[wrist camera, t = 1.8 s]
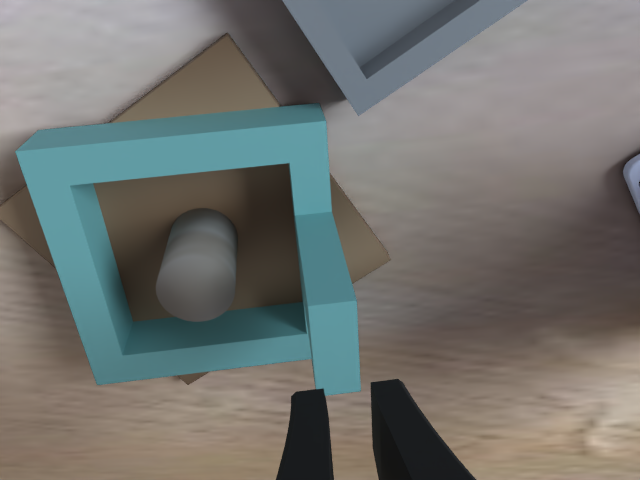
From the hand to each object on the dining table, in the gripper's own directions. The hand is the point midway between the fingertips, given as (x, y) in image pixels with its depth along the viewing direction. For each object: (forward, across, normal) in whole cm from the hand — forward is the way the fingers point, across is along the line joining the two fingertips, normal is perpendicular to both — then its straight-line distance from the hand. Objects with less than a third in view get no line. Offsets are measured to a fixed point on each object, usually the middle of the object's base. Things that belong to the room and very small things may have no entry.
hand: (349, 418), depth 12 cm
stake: (+10, +4, 0) cm, 11 cm away
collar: (+9, +4, 0) cm, 10 cm away
